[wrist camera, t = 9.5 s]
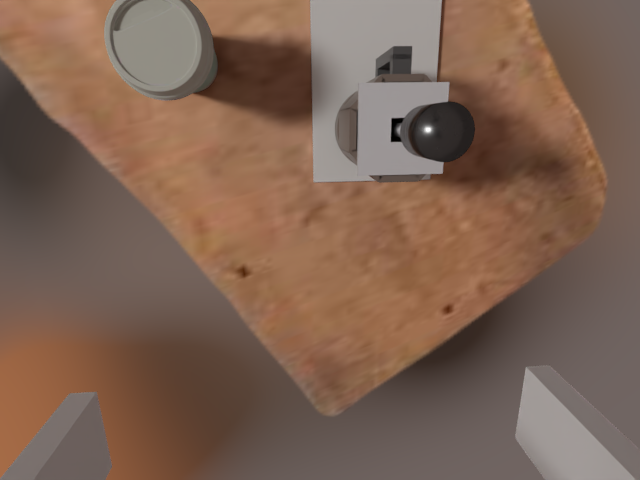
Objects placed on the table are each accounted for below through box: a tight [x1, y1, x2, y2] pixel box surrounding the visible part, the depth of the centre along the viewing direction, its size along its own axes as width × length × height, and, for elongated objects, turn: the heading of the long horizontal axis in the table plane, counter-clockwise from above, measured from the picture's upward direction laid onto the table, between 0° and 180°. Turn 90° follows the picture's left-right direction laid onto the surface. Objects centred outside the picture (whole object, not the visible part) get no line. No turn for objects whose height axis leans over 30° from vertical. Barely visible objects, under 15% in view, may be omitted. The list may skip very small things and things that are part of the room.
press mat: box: [310, 0, 442, 182], centre depth 44 cm, size 20×14×1 cm
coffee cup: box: [104, 0, 218, 100], centre depth 37 cm, size 8×8×12 cm
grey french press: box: [335, 46, 449, 182], centre depth 39 cm, size 11×9×12 cm
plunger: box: [391, 102, 475, 162], centre depth 32 cm, size 4×4×16 cm
